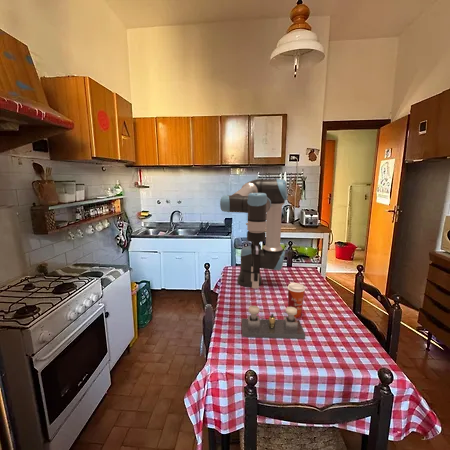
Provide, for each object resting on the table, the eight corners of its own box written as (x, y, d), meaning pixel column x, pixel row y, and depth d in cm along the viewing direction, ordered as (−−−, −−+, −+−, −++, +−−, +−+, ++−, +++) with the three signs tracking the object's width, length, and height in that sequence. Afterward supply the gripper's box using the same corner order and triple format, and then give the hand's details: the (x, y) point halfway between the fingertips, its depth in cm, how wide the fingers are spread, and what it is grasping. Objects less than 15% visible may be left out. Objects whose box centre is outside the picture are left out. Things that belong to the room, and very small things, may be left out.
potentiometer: (268, 324, 117) (269, 312, 116) (274, 324, 117) (275, 312, 116) (269, 327, 114) (269, 315, 113) (275, 327, 114) (275, 316, 113)
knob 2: (284, 316, 117) (285, 306, 116) (295, 317, 117) (295, 306, 116) (286, 322, 112) (287, 311, 112) (297, 322, 112) (298, 312, 111)
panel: (241, 322, 122) (241, 311, 121) (298, 324, 121) (299, 313, 120) (242, 336, 111) (242, 325, 110) (305, 338, 110) (305, 327, 109)
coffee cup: (291, 320, 124) (293, 290, 121) (282, 311, 132) (284, 283, 129) (307, 317, 126) (309, 288, 124) (298, 309, 134) (299, 281, 131)
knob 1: (248, 315, 118) (248, 305, 117) (258, 315, 117) (258, 305, 117) (248, 321, 113) (248, 310, 112) (259, 321, 113) (259, 311, 112)
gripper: (246, 226, 118) (245, 275, 122) (248, 236, 99) (246, 294, 103) (263, 226, 118) (261, 276, 122) (268, 236, 99) (266, 294, 103)
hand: (254, 284), depth 112 cm, fingers open, 6 cm apart
